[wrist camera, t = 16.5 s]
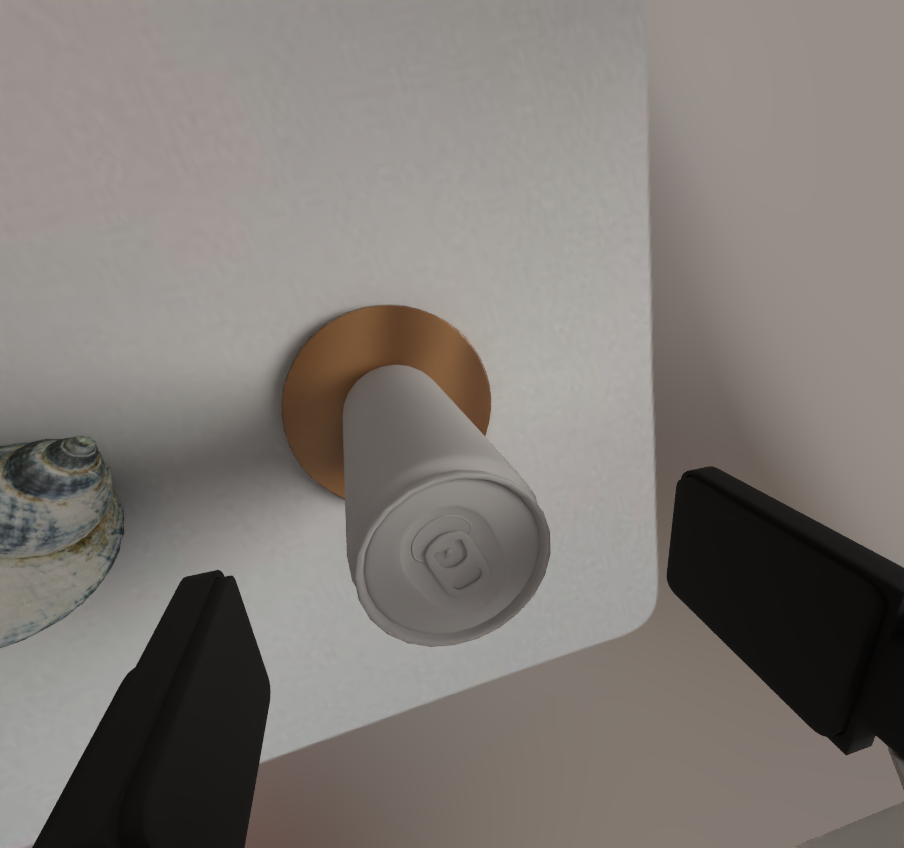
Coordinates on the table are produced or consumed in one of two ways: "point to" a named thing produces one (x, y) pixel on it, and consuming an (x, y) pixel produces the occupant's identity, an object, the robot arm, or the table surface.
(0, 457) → the seashell
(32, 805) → the table surface
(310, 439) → the copper pad
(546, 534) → the beverage can
